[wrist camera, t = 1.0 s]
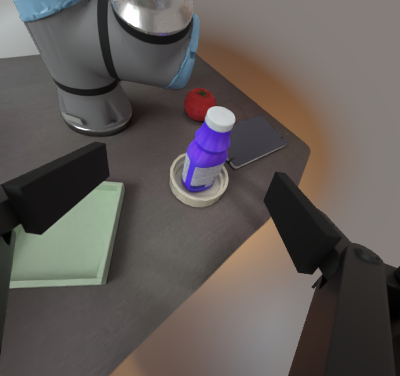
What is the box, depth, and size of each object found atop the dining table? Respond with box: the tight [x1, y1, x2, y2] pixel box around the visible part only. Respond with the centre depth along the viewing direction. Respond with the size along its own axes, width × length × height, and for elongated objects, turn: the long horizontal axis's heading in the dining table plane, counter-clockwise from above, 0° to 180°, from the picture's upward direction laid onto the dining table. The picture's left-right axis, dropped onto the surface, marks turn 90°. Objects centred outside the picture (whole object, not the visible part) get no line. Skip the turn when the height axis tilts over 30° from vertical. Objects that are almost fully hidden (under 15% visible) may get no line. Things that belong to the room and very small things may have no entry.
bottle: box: [182, 106, 235, 192], centre depth 31 cm, size 7×6×17 cm
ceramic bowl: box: [169, 153, 229, 207], centre depth 37 cm, size 12×12×4 cm
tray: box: [9, 181, 125, 289], centre depth 27 cm, size 17×15×2 cm
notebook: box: [226, 115, 288, 170], centre depth 48 cm, size 13×2×21 cm
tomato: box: [184, 88, 216, 121], centre depth 46 cm, size 9×9×8 cm
